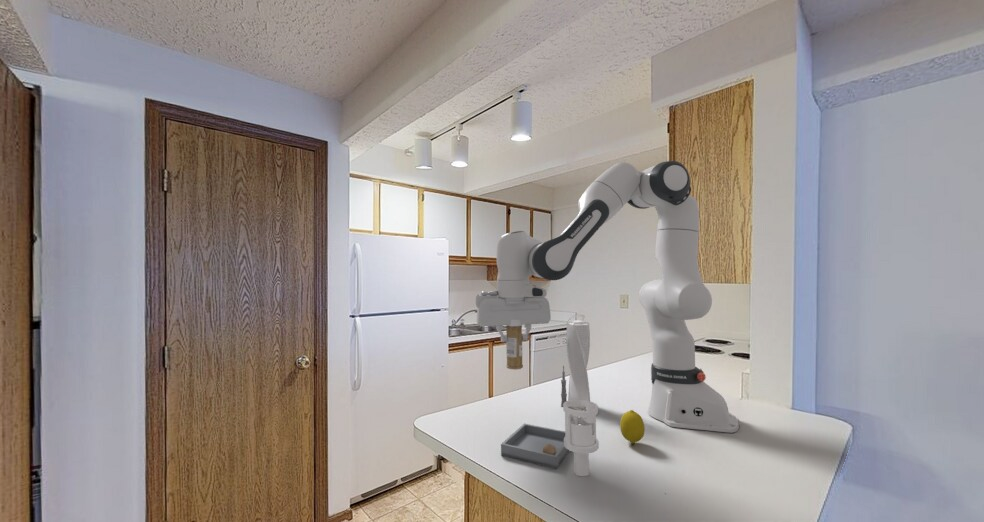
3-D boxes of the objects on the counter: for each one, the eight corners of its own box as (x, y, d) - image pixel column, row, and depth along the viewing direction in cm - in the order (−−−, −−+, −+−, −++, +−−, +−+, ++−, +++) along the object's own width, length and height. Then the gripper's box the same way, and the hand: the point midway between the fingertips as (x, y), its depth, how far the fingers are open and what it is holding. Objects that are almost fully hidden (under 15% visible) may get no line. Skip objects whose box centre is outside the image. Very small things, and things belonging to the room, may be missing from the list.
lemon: (644, 440, 94) (643, 407, 94) (645, 450, 89) (644, 415, 89) (620, 437, 96) (619, 405, 96) (620, 447, 90) (619, 413, 91)
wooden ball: (558, 457, 85) (558, 443, 85) (553, 463, 82) (553, 449, 82) (545, 454, 86) (545, 440, 86) (540, 460, 83) (540, 446, 83)
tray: (574, 443, 92) (574, 433, 92) (556, 468, 81) (556, 457, 81) (524, 433, 99) (524, 423, 99) (501, 455, 87) (500, 444, 87)
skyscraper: (571, 399, 124) (570, 313, 125) (595, 404, 120) (593, 315, 120) (560, 407, 118) (558, 316, 118) (585, 413, 113) (583, 318, 114)
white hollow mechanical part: (577, 485, 75) (576, 407, 75) (557, 468, 81) (556, 397, 81) (606, 476, 77) (605, 402, 78) (584, 461, 84) (583, 392, 84)
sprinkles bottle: (526, 368, 103) (525, 318, 104) (512, 370, 101) (512, 319, 101) (516, 364, 107) (515, 316, 107) (502, 367, 105) (502, 318, 105)
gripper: (477, 292, 99) (478, 345, 99) (552, 290, 103) (553, 341, 103) (473, 291, 105) (474, 341, 105) (544, 289, 109) (545, 337, 109)
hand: (514, 341), depth 104 cm, fingers closed on sprinkles bottle, 4 cm apart
